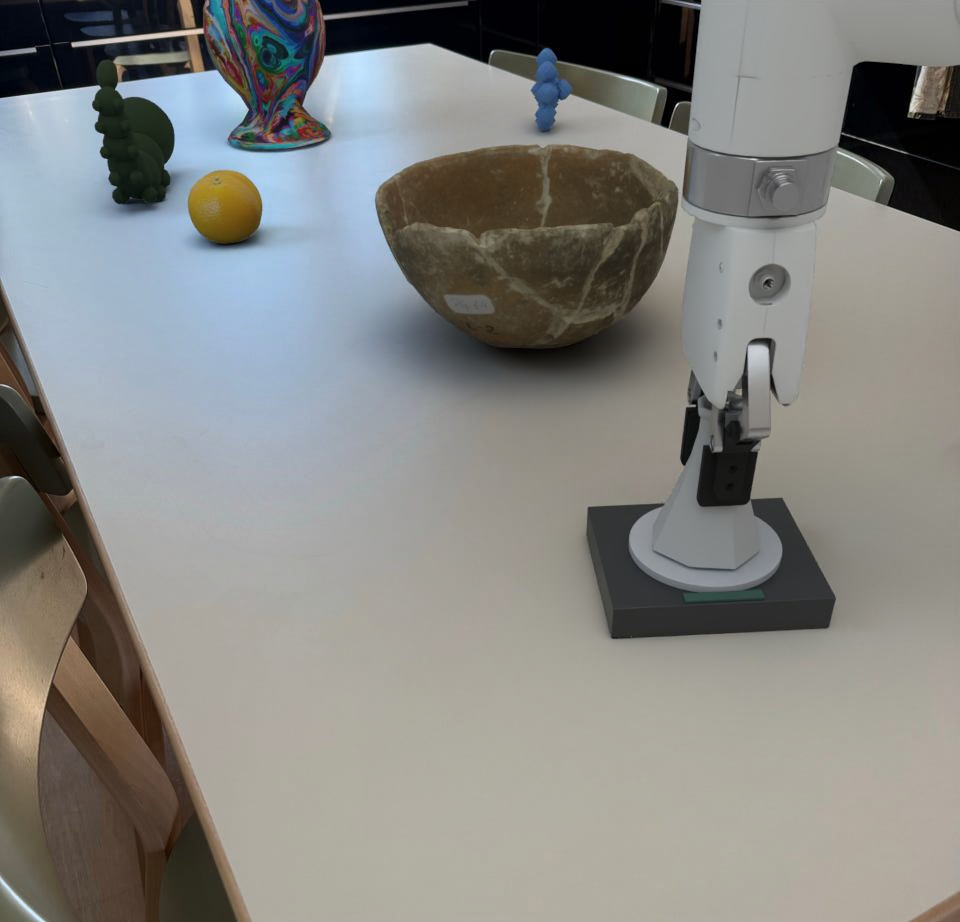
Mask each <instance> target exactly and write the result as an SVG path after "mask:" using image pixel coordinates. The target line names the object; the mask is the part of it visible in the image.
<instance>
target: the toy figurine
mask: <svg viewBox="0 0 960 922" xmlns="http://www.w3.org/2000/svg"><path fill="white" fill-rule="evenodd" d="M95 73H96V75H95V77H96V81H97V84H98V87H99V89H98V90H97V91H96V93H95V95H94V100H92V102H91V106H92V109H93V110H94V111H95V112H98V116H97V121H96V122H95V123H94V130H95V131H96V132H97V133H99V134H101V135H103V138H102V146H101V147H100V149H99V155H100V157H101V158H102V159H103V160H107V161H106V163H107V168H108V171H109V175H108V177H107V180H108V182H109V184H110V185H111V186H112V187H116V188H115V189H113V190H112V192H111V198H112V200H113V201H114V202H115V204H118V205H125V204H127V203H129V202H130V200H131V199H134V200H140V201H141V200H143V201H144V202H146V203H148V204H149V203H154V202H156V201H159V202H161V201H163V200H165V199H166V197H167V190H166V188H168V187H169V186H170V185H171V182H172V178H171V175H170V173H169V171H168V170H167V169H165V168H166V167H165V165H166V164H167V163H168V162H169V161H170V160H171V157H172V155H173V153H174V150H175V143H176V137H175V129H174V125H173V123H172V120H171V119H170V117H169V115H168V114H167V113H166V112H165V111H164V110H163V109H162V108H161V107H160V106H159V105H158V104H156V102H153V101H151V100H150V99H147V98H145V97H140V96H127V97H124V98H123V96H122V94H121V93H120V92H119V91H118V90H116V88H117V86H118V83H119V73H118V67H117V65H116V63H115V62H114V61H112V60H111V59H104V60H101V61H100V62H99V64H98V65H97V68H96V72H95Z"/></svg>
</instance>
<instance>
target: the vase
mask: <svg viewBox="0 0 960 922" xmlns="http://www.w3.org/2000/svg"><path fill="white" fill-rule="evenodd" d="M204 1H205V2H204V4H203V8H202V17H203V18H202V20H203V22H202V23H203V24H202V25H203V27H202V28H203V29H202V30H203V36H204V39H205V45H206V49H207V52H208V54H209V57H210V59H211V62H212V64H213V66H214V68H215V69H216V71H217V72H218V74H219V75H220V77H222V79H223V80H224V82H225V83H226V84H227V85H228V86H229V87H230V88H231V89H232V90H233V91H234V92H235V93H236V94H237V95H239V97H240V98H241V100H242V101H243V103H244V105H245V106H246V108H247V109H248V110H247V111H246V114H245V116H244V118H243V119H242V121H241V122H240V123H239V124H238V125H237V126H236V127H234V128H233V130H231V131H230V133H229V135H228V137H227V140H226V141H227V142H228V143H229V144H231V145H232V146H235V147H239V148H244V149H252V150H283V149H284V150H285V149H292V148H300V147H303V146H304V147H305V146H309V145H313V144H316V143H319V142H322V141H324V140H326V139H328V138H329V137H330V136H331V135H332V131H331V130H330V129H329V127H327V126H326V125H325V123H323V122H321V121H320V120H318V119H316V118H315V117H313V116H312V115H311V114H310V113H309V112H308V111H307V110H306V108H305V107H304V103H305V100H306V96H307V93H308V91H309V89H310V88H311V86H312V85H313V83H314V82H315V80H316V78H317V77H318V76H319V73H320V70H321V68H322V65H323V63H324V59H325V53H326V46H327V42H326V37H327V36H326V22H325V19H324V15H323V11H322V7H321V3H320V1H319V0H204Z"/></svg>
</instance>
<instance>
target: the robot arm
mask: <svg viewBox="0 0 960 922" xmlns="http://www.w3.org/2000/svg"><path fill="white" fill-rule="evenodd" d="M700 1H701V2H700V10H699V11H700V12H699V21H698V29H697V30H698V33H697V41H696V52H695V60H694V61H695V62H694V70H693V71H694V72H693V80H692V89H691V90H692V92H691V101H690V109H689V110H690V112H689V121H688V133H687V139H686V140H687V141H686V142H687V143H686V150H685V161H684V170H683V182H682V193H681V200H680V205H681V208H682V210H683V211H684V212H685V213H686V214H688V215H689V216H692V217H694V218H693V219H694V220H693V223H692V227H691V228H692V232H691V238H690V244H689V252H688V258H687V266H686V272H685V273H686V274H685V279H684V289H683V295H682V296H683V298H682V307H681V319H680V320H681V321H680V341H681V345H682V350H683V354H684V355H685V358H686V360H687V362H688V364H689V367H690V369H691V370H690V376H689V380H688V381H689V382H688V386H687V395H686V397H687V404H688V405H689V406H685V412H684V419H683V428H682V429H683V430H682V438H681V444H680V445H681V447H680V455H679V461H680V462H681V465H682V466H683V467H685V465H686V463H687V461H688V459H689V457H690V455H691V453H692V449H693V446H694V443H695V440H696V437H697V434H698V431H699V425H700V418H701V417H700V416H699V412H698V398H700V397H702V396H703V395H705V396H706V397H707V399H708V400H709V401H710V402H711V403H712V416H711V429H710V445H703V451H702V459H701V466H700V474H699V482H698V489H697V497H696V499H697V502H698V504H699V505H700V506H701V507H715V506H737V505H745V504H747V503H748V502H749V501H750V499H751V496H752V491H753V485H754V480H755V479H754V478H755V473H756V467H757V461H758V454H759V452H760V450H761V447H762V441H763V440H765V439H767V438H769V437H770V435H771V432H772V408H771V406H772V405H771V404H772V403H771V393H772V395H773V396H774V398H775V400H776V401H777V403H778V405H782V406H783V407H792V406H793V405H794V404H795V402H796V400H797V399H798V397H799V393H800V388H801V382H802V375H803V370H804V369H803V368H804V363H805V355H806V349H807V348H806V347H807V341H808V333H809V327H810V318H811V312H812V304H813V295H814V294H813V293H814V285H815V273H816V260H817V259H816V258H817V223H816V221H818V220H820V219H821V218H823V217H824V216H825V214H826V213H827V207H828V202H829V197H830V192H831V186H832V182H833V181H832V180H833V176H834V170H835V166H836V159H837V154H838V149H839V143H840V139H841V133H842V128H843V123H844V117H845V112H846V106H847V102H848V96H849V90H850V85H851V81H852V74H853V70H854V66H856V65H858V64H859V63H864V62H873V63H875V62H876V63H889V64H899V65H900V64H902V65H911V66H918V67H919V66H920V67H933V68H943V67H945V68H947V67H953V66H960V0H700ZM737 390H741V395H740V394H738V395H739V396H727V394H728V392H732V393H735V394H737V393H736V392H737ZM726 411H742V415H741V418H740V419H739V420H738V421H730V423H729V424H728V425H727V426H726V427H725V420H726Z"/></svg>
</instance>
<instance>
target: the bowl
mask: <svg viewBox="0 0 960 922" xmlns="http://www.w3.org/2000/svg"><path fill="white" fill-rule="evenodd" d="M374 195H375V197H374V205H375V210H376V215H377V220H378V223H379V225H380V228H381V231H382V233H383V236H384V239H385V242H386V244H387V246H388V248H389V251H390V252H391V255H392V257H393V258H394V260H395V262H396V264H397V266H398V267H399V269H400V271H401V273H402V275H403V276H404V277H405V279H406V280H407V281H406V282H407V283H409V284H410V285H411V286H412V287H413V288H414V289H415V291H416V292H417V293H418V295H419V296H420V297H421V298H422V300H424V302H426V303H427V304H428V305H429V306H430V307H431V308H432V309H433V311H435V313H437V314H438V315H439V316H441V317H442V318H443V319H444V320H445V321H447V322H448V323H450V324H451V325H452V326H454V327H455V328H456V329H458V330H459V331H462V333H465V334H467V335H468V336H470V337H472V338H474V339H476V340H478V341H480V342H482V343H484V344H486V345H489V346H493V347H495V348H513V349H514V348H518V349H519V348H521V349H538V350H541V349H542V350H543V349H557V348H561V347H566V346H570V345H575V344H577V343H579V342H582V341H584V340H586V339H589V338H591V337H592V336H594V335H596V334H599V333H600V332H602V331H605V330H606V329H609V328H610V327H611V326H613V325H614V324H615V323H617V322H619V321H620V320H622V319H623V318H625V317H626V316H627V315H628V314H629V313H630V312H631V311H632V310H633V309H634V308H635V307H636V306H637V305H638V304H639V303H640V301H641V300H643V299H642V298H643V297H644V296H645V295H646V293H647V292H648V291H649V289H650V288H651V286H652V285H653V283H654V281H655V280H656V278H657V277H658V274H659V273H660V270H661V268H662V265H663V264H664V262H665V259H666V255H667V251H668V248H669V245H670V242H671V237H672V234H673V231H674V226H675V224H676V218H677V213H678V207H679V188H678V186H677V185H676V183H675V182H674V180H671V179H669V178H668V177H667V176H666V175H665V174H663V172H661V171H660V170H658V169H657V168H655V167H654V166H653V165H651V164H650V163H648V162H647V161H646V160H645V159H643V158H640V157H638V156H636V155H635V154H634V153H631V152H622V151H619V150H615V149H614V150H613V149H605V148H603V149H597V148H592V147H586V146H579V145H574V144H562V143H561V144H560V143H559V144H558V143H552V144H547V145H546V146H544V147H541V146H540V145H539V144H507V145H506V144H505V145H498V146H497V145H496V146H488V147H482V148H477V149H473V150H469V151H461V152H456V153H451V154H444V155H441V156H436V157H433V158H428V159H425V160H422V161H418V162H415V163H413V164H411V165H409V166H407V167H405V168H403V169H401V171H398V172H397V173H395V174H394V175H392V176H391V177H390V178H388V179H387V180H385V181H383V182H382V183H381V184H380V186H379V187H378V188H377V190H376V192H375V194H374Z"/></svg>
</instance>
